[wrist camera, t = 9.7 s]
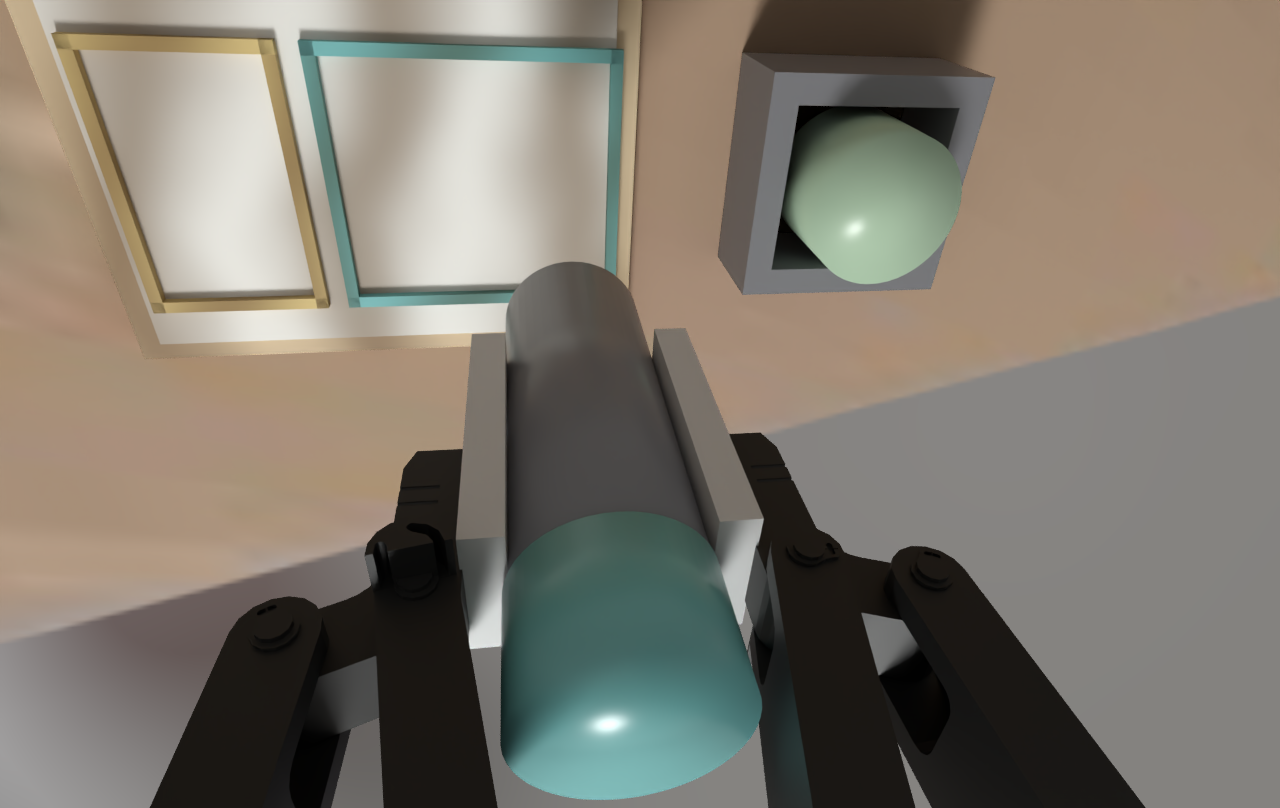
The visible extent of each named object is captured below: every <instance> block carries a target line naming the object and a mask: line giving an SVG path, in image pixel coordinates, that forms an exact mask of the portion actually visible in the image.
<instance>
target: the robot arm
mask: <svg viewBox="0 0 1280 808" xmlns="http://www.w3.org/2000/svg"><path fill="white" fill-rule="evenodd" d="M652 361H653V364H654V367H655V371H656V374H657V377H658V380H659V383H660V387H661V390H662V393H663V396H664V399H665V403H666V406H667V409H668V412H669V415H670V419H671V422H672V425H673V428H674V431H675V435H676V438H677V441H678V444H679V447H680V451H681V454H682V457H683V460H684V463H685V467H686V470H687V473H688V476H689V479H690V483H691V486H692V489H693V492H694V495H695V499H696V502H697V505H698V508H699V511H700V515H701V518H702V521H703V524H704V527H705V531H706V534H707V537H708V540H709V543H710V545H711V547H712V548H713V550H714V552H715V554H716V556H717V559H718V562H719V565H720V568H721V572H722V575H723V578H724V581H725V584H726V587H727V590H728V594H729V597H730V600H731V603H732V606H733V609H734V612H735V616H736V619H737V622H738V624H742V622H743V617H744V612H745V607H746V606H747V609H748V612H749V615H750V618H751V620H752V623H753V627H752V632H751V636H750V641H749V645H748V650H747V653H748V657H749V660H750V663H751V664H752V669H753V672H754V676H755V679H756V682H757V685H758V688H759V691H760V695H761V698H762V712H761V718H760V720H759V729H760V738H761V746H762V756H763V764H764V773H765V782H766V790H767V798H768V808H915V804H914V801H913V798H912V793H911V790H910V786H909V783H908V779H907V775H906V772H905V768H904V765H903V761H902V757H901V754H900V750H899V747H898V744H899V746H900V748H901V750H902V752H903V754H904V756H905V757H906V759H907V761H908V763H909V765H910V767H911V769H912V771H913V773H914V775H915V776H916V779H917V780H918V782H919V784H920V786H921V788H922V790H923V792H924V794H925V796H926V798H927V799H928V801H929V803H930V805H931V807H932V808H1145V806H1144V805H1143V804H1142V803H1141V801H1140V800H1139V798H1138V797H1137V796H1136V795H1135V793H1134V792H1133V791H1132V790H1131V788H1130V787H1129V785H1128V784H1127V783H1126V781H1125V780H1124V779H1123V777H1122V776H1121V775H1120V773H1119V772H1118V771H1117V769H1116V768H1115V767H1114V766H1113V764H1112V763H1111V762H1110V761H1109V759H1108V758H1107V756H1106V755H1105V754H1104V752H1103V751H1102V750H1101V748H1100V747H1099V746H1098V744H1097V743H1096V742H1095V740H1094V739H1093V738H1092V737H1091V735H1090V734H1089V733H1088V732H1087V730H1086V729H1085V727H1084V726H1083V725H1082V723H1081V722H1080V721H1079V719H1078V718H1077V717H1076V716H1075V714H1074V713H1073V712H1072V711H1071V709H1070V708H1069V706H1068V705H1067V704H1066V702H1065V701H1064V700H1063V698H1062V697H1061V696H1060V695H1059V693H1058V692H1057V690H1056V689H1055V688H1054V686H1053V685H1052V684H1051V683H1050V681H1049V680H1048V679H1047V677H1046V676H1045V675H1044V673H1043V672H1042V671H1041V669H1040V668H1039V667H1038V665H1037V664H1036V663H1035V661H1034V660H1033V659H1032V657H1031V656H1030V655H1029V654H1028V652H1027V651H1026V650H1025V648H1024V647H1023V646H1022V644H1021V643H1020V642H1019V640H1018V639H1017V638H1016V636H1015V635H1014V634H1013V633H1012V631H1011V630H1010V628H1009V627H1008V626H1007V625H1006V623H1005V622H1004V621H1003V619H1002V618H1001V617H1000V615H999V614H998V613H997V611H996V610H995V609H994V607H993V606H992V605H991V603H990V602H989V601H988V599H987V598H986V597H985V596H984V594H983V593H982V592H981V590H980V589H979V588H978V586H977V585H976V584H975V582H974V581H973V580H972V578H971V577H970V576H969V574H968V573H967V572H966V571H965V569H964V568H963V567H962V566H961V565H960V564H959V563H958V562H957V561H955V559H953V558H952V557H950V556H948V555H946V554H945V553H943V552H941V551H939V550H935V549H932V548H928V547H922V546H910V547H907V548H904V549H901V550H899V551H898V552H897V553H896V555H895V556H894V557H893V558H892V561H891V563H888V562H883V561H877V560H871V559H866V558H861V557H857V556H853V555H850V554H847V553H845V552H844V551H843V550H842V548H841V546H840V544H839V543H838V542H837V541H836V540H834V539H833V538H832V537H831V536H830V535H828V534H826V533H824V532H822V531H820V530H818V529H817V528H816V526H815V524H814V522H813V520H812V518H811V516H810V514H809V512H808V510H807V508H806V506H805V504H804V502H803V500H802V498H801V496H800V494H799V492H798V490H797V488H796V485H795V484H794V481H792V480H791V475H790V473H789V471H788V469H787V468H786V467H785V463H784V461H783V459H782V457H781V455H780V453H779V451H778V449H777V447H776V446H775V445H774V444H773V443H772V442H770V441H769V440H768V439H767V438H766V437H765V436H764V435H762V434H761V433H743V434H729V433H728V430H727V428H726V426H725V423H724V421H723V418H722V416H721V413H720V411H719V409H718V406H717V404H716V401H715V399H714V396H713V394H712V392H711V389H710V387H709V384H708V382H707V379H706V377H705V375H704V372H703V370H702V367H701V365H700V363H699V360H698V358H697V355H696V353H695V350H694V348H693V346H692V343H691V341H690V338H689V336H688V333H687V331H686V329H685V328H676V329H654V342H653V355H652ZM365 560H366V564H367V568H368V573H369V577H370V581H371V586H370V587H369V588H368V589H366V590H364V591H363V592H361V593H360V594H358V595H356V596H354V597H351V598H349V599H347V600H344V601H341V602H338V603H336V604H333V605H330V606H326V607H323V608H320V609H318V608H317V606H316V605H315V604H313V603H312V602H310V601H308V600H306V599H305V598H298V597H283V598H277V599H271V600H269V601H266V602H264V603H262V604H260V605H257V606H255V607H253V608H252V609H251V610H250V611H248V612H247V613H246V614H244V615H243V616H242V617H241V618H239V619H238V621H237V622H236V624H235V625H234V626H233V628H232V629H231V631H230V632H229V634H228V636H227V638H226V641H225V643H224V645H223V647H222V649H221V652H220V654H219V656H218V658H217V661H216V663H215V665H214V667H213V669H212V671H211V674H210V676H209V678H208V680H207V682H206V685H205V687H204V689H203V691H202V694H201V696H200V698H199V700H198V703H197V705H196V707H195V709H194V711H193V714H192V716H191V718H190V720H189V722H188V724H187V727H186V729H185V731H184V733H183V735H182V738H181V740H180V742H179V744H178V747H177V749H176V751H175V753H174V755H173V758H172V760H171V762H170V764H169V767H168V769H167V771H166V773H165V775H164V777H163V780H162V782H161V784H160V786H159V788H158V791H157V793H156V795H155V798H154V800H153V802H152V804H151V806H150V808H331V806H332V802H333V798H334V794H335V790H336V786H337V782H338V778H339V774H340V771H341V767H342V763H343V758H344V755H345V751H346V747H347V743H348V739H349V735H350V731H351V729H352V728H354V727H357V726H359V725H362V724H364V723H367V722H369V721H371V720H373V719H376V718H379V723H380V743H381V762H382V782H383V802H384V808H498V807H497V801H496V796H495V790H494V784H493V779H492V773H491V768H490V761H489V756H488V750H487V744H486V738H485V733H484V726H483V721H482V715H481V710H480V703H479V698H478V693H477V686H476V680H475V674H474V669H473V663H472V658H471V652H470V649H475V648H486V647H497V646H501V614H502V588H503V584H504V580H505V578H506V575H507V353H506V337H505V333H487V334H472V338H471V351H470V364H469V377H468V390H467V402H466V415H465V428H464V441H463V449H454V450H435V451H417V452H416V454H415V455H414V456H413V457H412V459H411V460H410V461H409V462H408V464H407V465H406V466H405V467H404V469H403V475H402V480H401V486H400V492H399V497H398V506H397V508H396V514H395V520H394V523H390V524H389V525H387V526H386V527H384V528H382V529H381V530H379V531H378V532H376V534H375V535H374V536H373V537H372V538H371V540H370V541H369V542H368V543H367V547H366V552H365ZM897 742H898V743H897Z"/></svg>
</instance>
